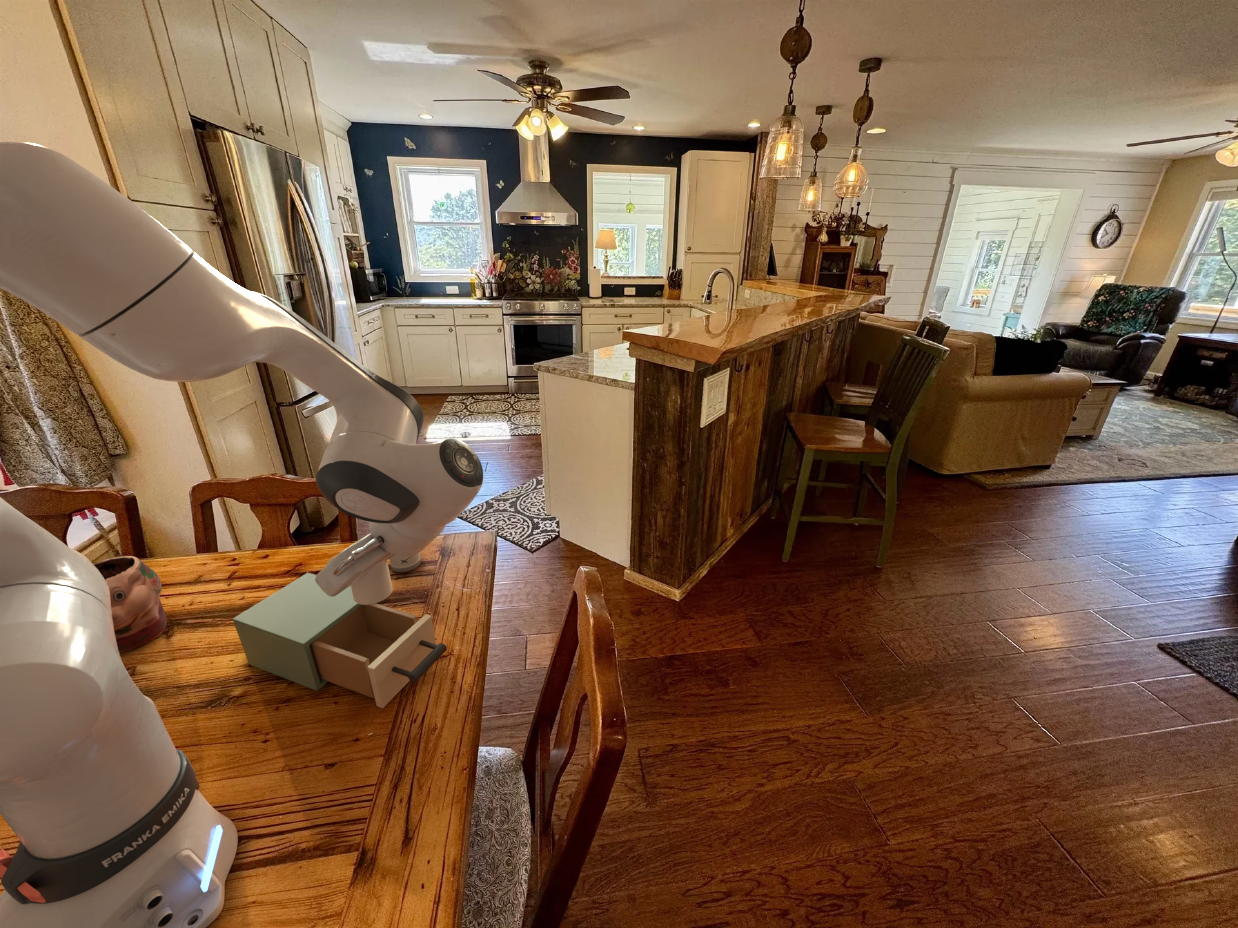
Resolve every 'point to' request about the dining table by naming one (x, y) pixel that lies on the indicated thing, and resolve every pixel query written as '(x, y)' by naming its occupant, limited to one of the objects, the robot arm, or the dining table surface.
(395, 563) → the travel mug
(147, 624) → the decorative planter
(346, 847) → the dining table surface
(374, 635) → the drawer
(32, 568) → the robot arm
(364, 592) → the paper towel roll
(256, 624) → the cabinet
